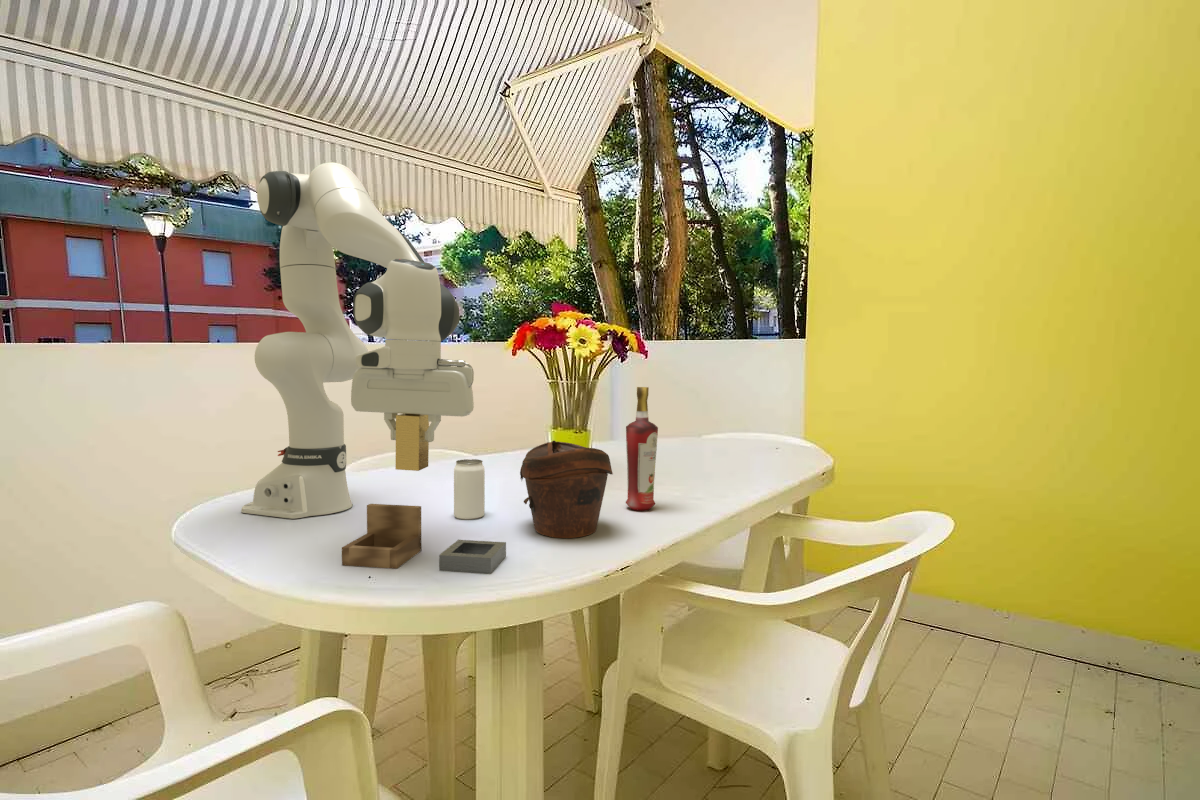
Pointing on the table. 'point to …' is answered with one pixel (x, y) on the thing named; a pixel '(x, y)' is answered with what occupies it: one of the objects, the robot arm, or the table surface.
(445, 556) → the socket block
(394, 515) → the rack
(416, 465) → the brass peg block
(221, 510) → the table surface
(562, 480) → the case
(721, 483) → the table surface
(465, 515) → the can
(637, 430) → the liquor
